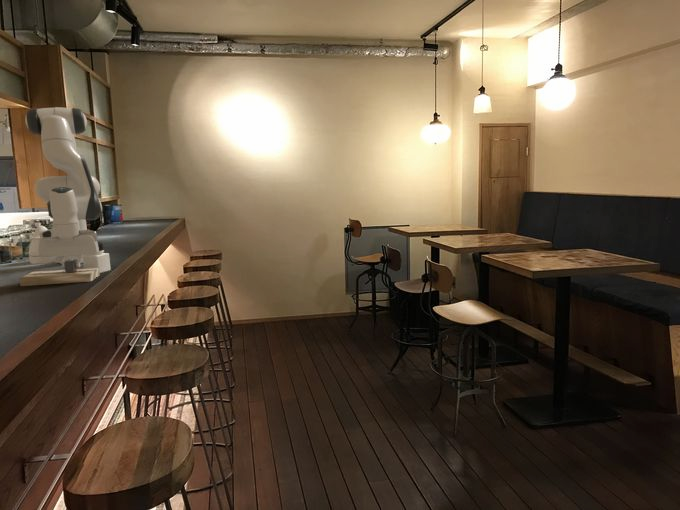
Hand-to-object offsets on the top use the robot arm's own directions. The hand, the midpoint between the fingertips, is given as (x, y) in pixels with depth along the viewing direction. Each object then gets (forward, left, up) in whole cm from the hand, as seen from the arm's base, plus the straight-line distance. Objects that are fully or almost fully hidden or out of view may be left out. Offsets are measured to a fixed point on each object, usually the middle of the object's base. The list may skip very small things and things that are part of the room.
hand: (71, 267), depth 193 cm
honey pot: (-51, -28, -5) cm, 58 cm away
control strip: (0, -4, -5) cm, 6 cm away
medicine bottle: (-14, +5, -5) cm, 16 cm away
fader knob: (0, 0, -1) cm, 1 cm away
